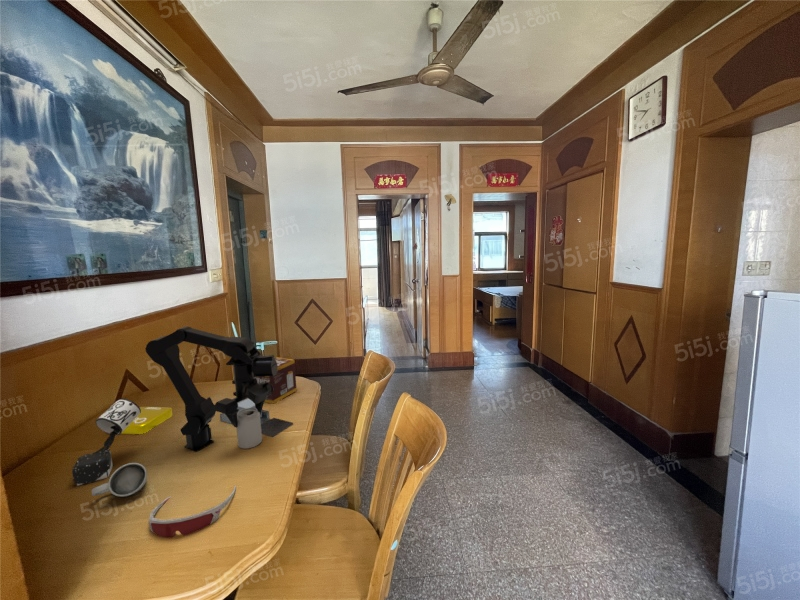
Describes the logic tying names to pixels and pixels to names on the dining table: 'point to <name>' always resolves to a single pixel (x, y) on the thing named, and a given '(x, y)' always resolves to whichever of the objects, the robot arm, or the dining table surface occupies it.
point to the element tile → (148, 419)
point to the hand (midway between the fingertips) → (247, 420)
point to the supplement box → (281, 380)
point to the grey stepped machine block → (246, 405)
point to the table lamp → (101, 460)
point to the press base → (266, 424)
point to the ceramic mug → (124, 481)
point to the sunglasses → (186, 520)
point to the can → (249, 428)
